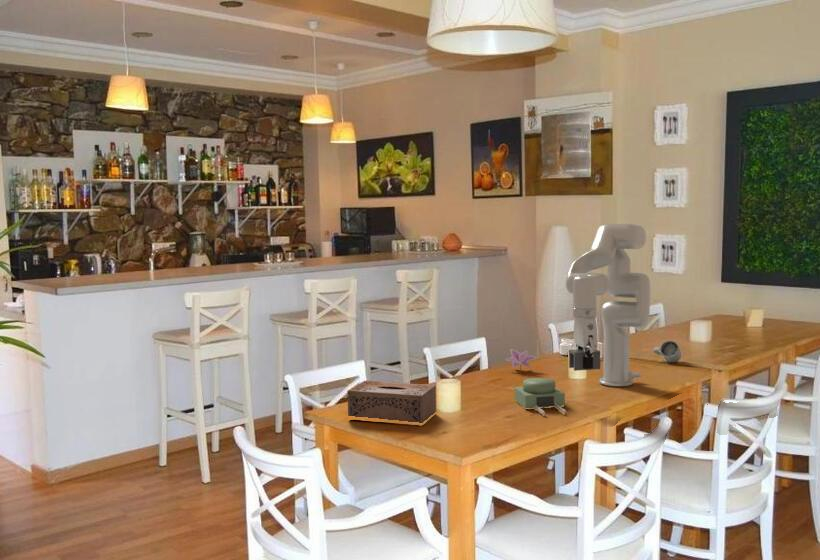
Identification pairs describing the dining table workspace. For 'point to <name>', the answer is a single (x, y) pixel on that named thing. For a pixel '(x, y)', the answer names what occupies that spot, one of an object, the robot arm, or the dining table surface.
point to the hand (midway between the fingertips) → (584, 366)
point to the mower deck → (539, 394)
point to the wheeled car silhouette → (567, 346)
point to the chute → (577, 359)
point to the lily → (520, 358)
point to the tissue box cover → (392, 401)
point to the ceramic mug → (669, 351)
